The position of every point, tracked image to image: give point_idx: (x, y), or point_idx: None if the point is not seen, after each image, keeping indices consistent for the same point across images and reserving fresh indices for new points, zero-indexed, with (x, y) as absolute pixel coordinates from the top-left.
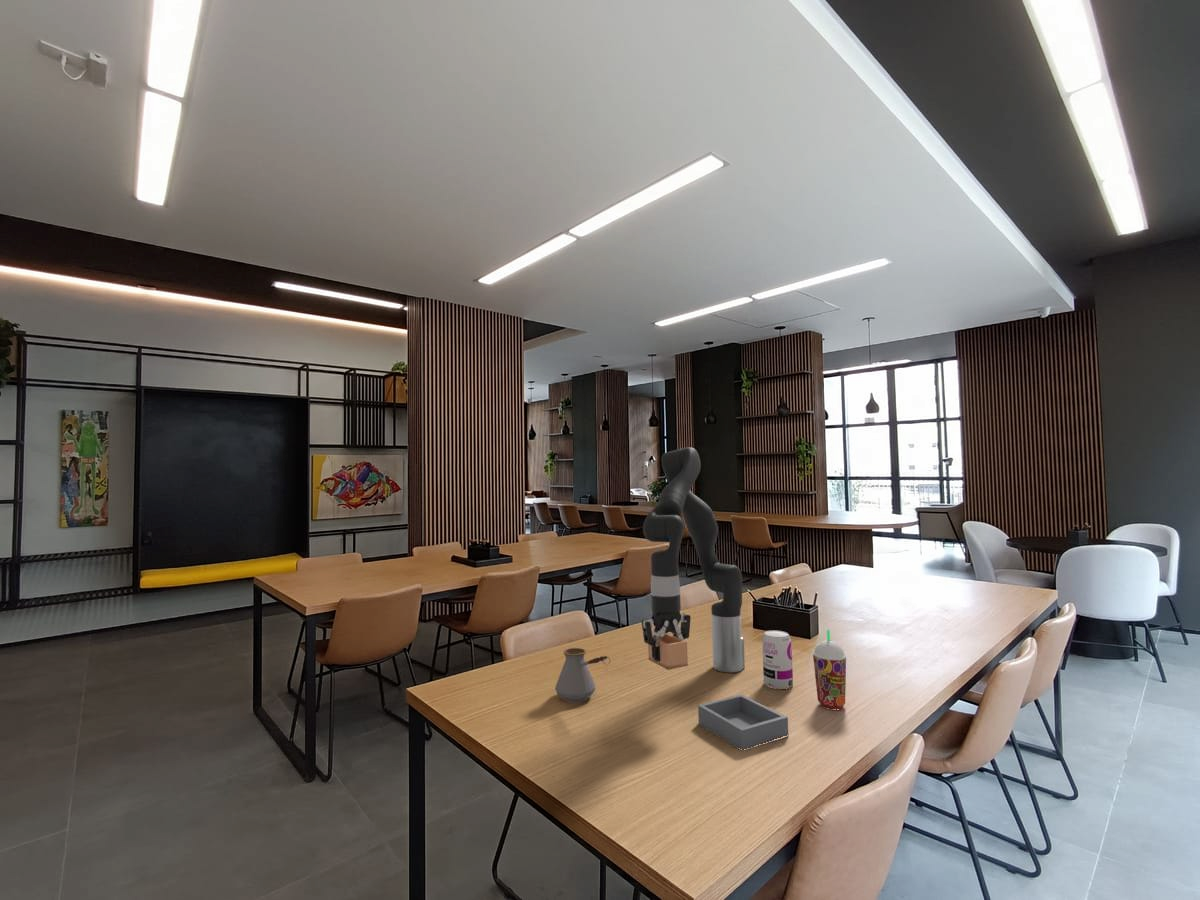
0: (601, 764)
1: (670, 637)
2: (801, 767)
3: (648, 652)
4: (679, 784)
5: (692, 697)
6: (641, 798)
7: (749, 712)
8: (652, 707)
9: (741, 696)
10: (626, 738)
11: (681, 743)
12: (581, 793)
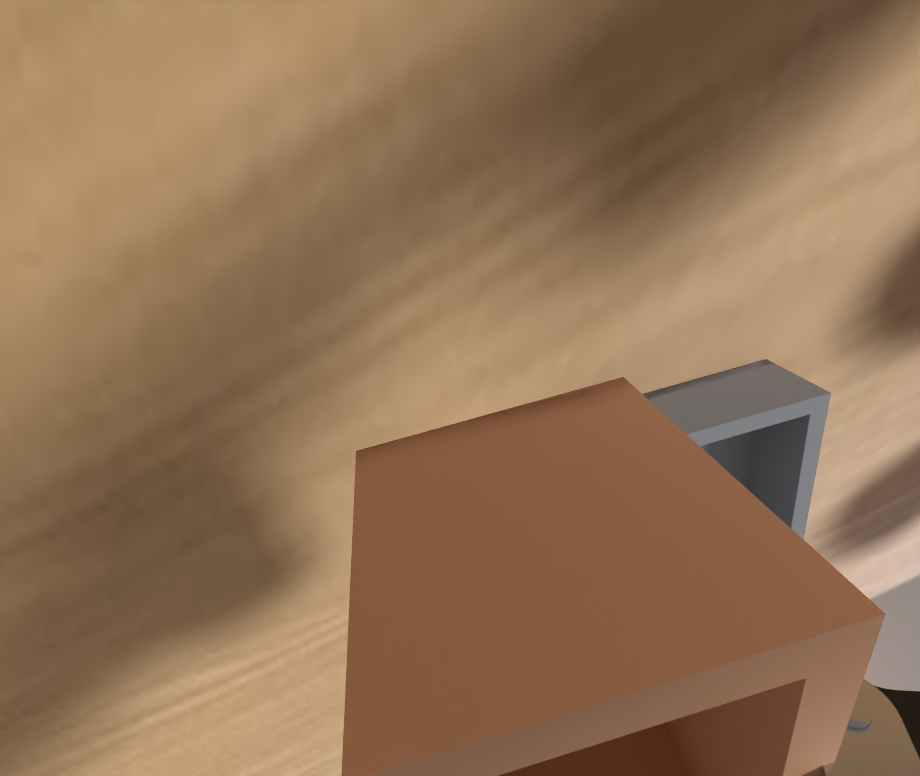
0: (82, 630)
1: (765, 730)
2: None
3: (354, 514)
4: (326, 709)
5: (689, 110)
6: (210, 748)
7: (763, 430)
8: (406, 185)
9: (811, 414)
10: (197, 485)
11: None
12: (24, 738)
